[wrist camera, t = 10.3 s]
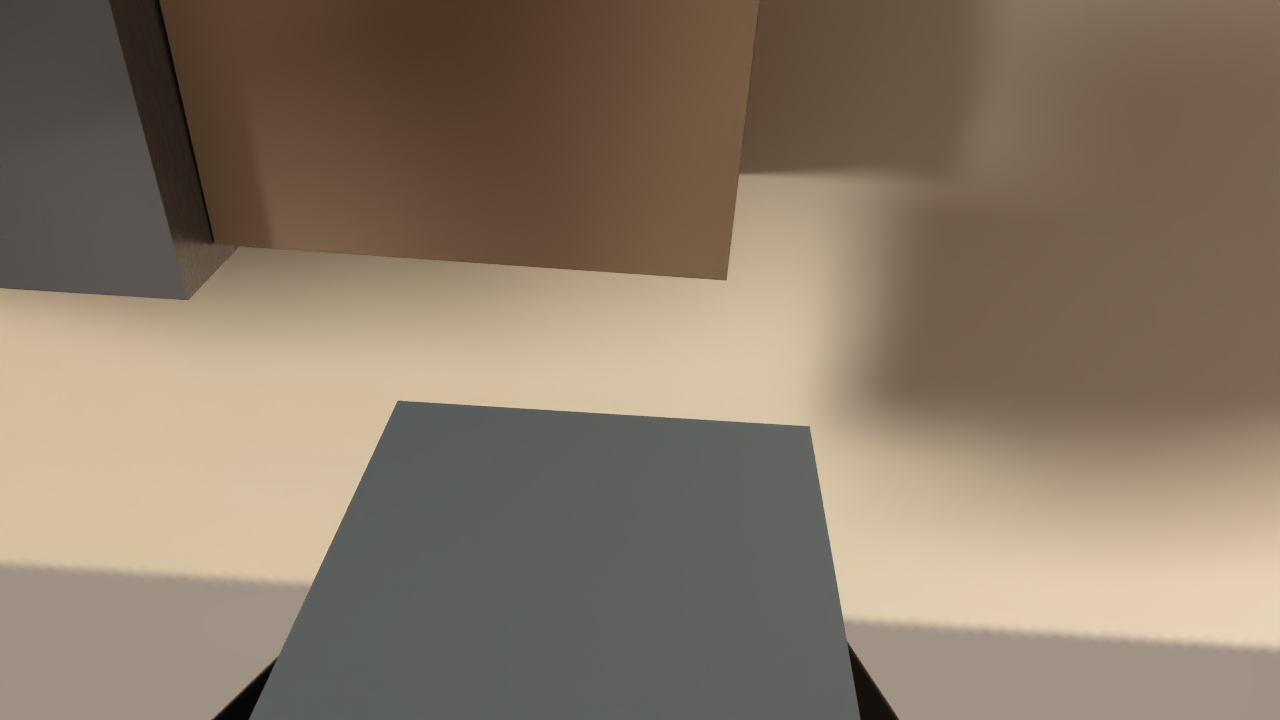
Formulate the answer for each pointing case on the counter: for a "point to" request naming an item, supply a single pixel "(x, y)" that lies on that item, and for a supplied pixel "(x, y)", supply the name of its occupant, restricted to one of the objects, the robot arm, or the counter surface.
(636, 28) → the brown square block
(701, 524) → the block
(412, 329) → the counter surface
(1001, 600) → the counter surface
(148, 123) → the block
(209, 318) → the counter surface
